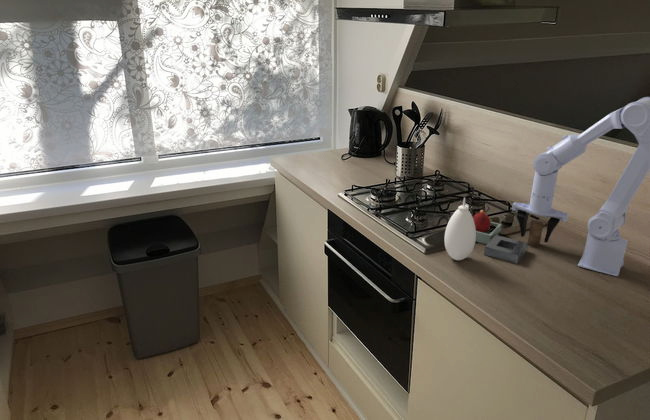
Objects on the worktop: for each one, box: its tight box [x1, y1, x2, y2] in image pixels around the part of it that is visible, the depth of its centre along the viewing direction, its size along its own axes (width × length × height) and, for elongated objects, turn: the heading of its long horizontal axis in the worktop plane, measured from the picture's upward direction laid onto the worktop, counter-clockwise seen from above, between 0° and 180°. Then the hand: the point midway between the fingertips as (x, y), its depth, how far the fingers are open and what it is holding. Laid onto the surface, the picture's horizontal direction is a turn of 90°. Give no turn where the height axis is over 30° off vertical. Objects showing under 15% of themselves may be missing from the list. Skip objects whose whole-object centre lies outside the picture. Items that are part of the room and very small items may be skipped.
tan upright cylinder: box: [527, 219, 544, 248], centre depth 146 cm, size 3×3×7 cm
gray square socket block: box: [483, 235, 529, 265], centre depth 142 cm, size 9×9×2 cm
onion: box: [472, 209, 492, 233], centre depth 151 cm, size 6×6×8 cm
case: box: [475, 221, 502, 245], centre depth 152 cm, size 10×10×3 cm
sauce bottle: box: [444, 197, 476, 261], centre depth 135 cm, size 8×8×18 cm
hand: (534, 238), depth 146 cm, fingers open, 6 cm apart
